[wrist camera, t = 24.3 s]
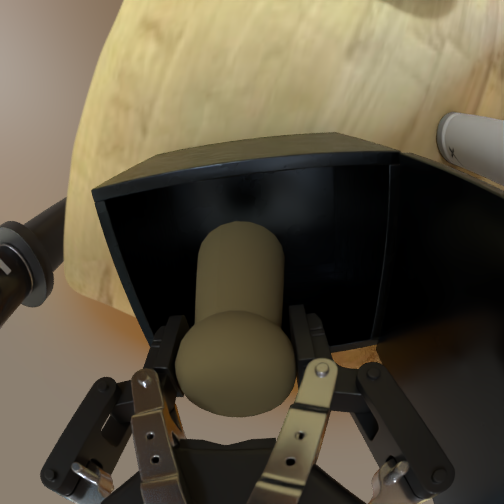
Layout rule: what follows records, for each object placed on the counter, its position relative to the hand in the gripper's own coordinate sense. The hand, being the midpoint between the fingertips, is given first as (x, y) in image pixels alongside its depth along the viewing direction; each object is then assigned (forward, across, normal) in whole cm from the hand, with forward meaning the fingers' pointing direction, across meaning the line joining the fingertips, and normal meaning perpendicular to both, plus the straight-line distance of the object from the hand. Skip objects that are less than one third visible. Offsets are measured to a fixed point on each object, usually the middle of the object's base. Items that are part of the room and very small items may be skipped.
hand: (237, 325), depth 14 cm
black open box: (+16, -1, 0) cm, 16 cm away
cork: (+7, 0, 0) cm, 7 cm away
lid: (-6, -10, 0) cm, 11 cm away
